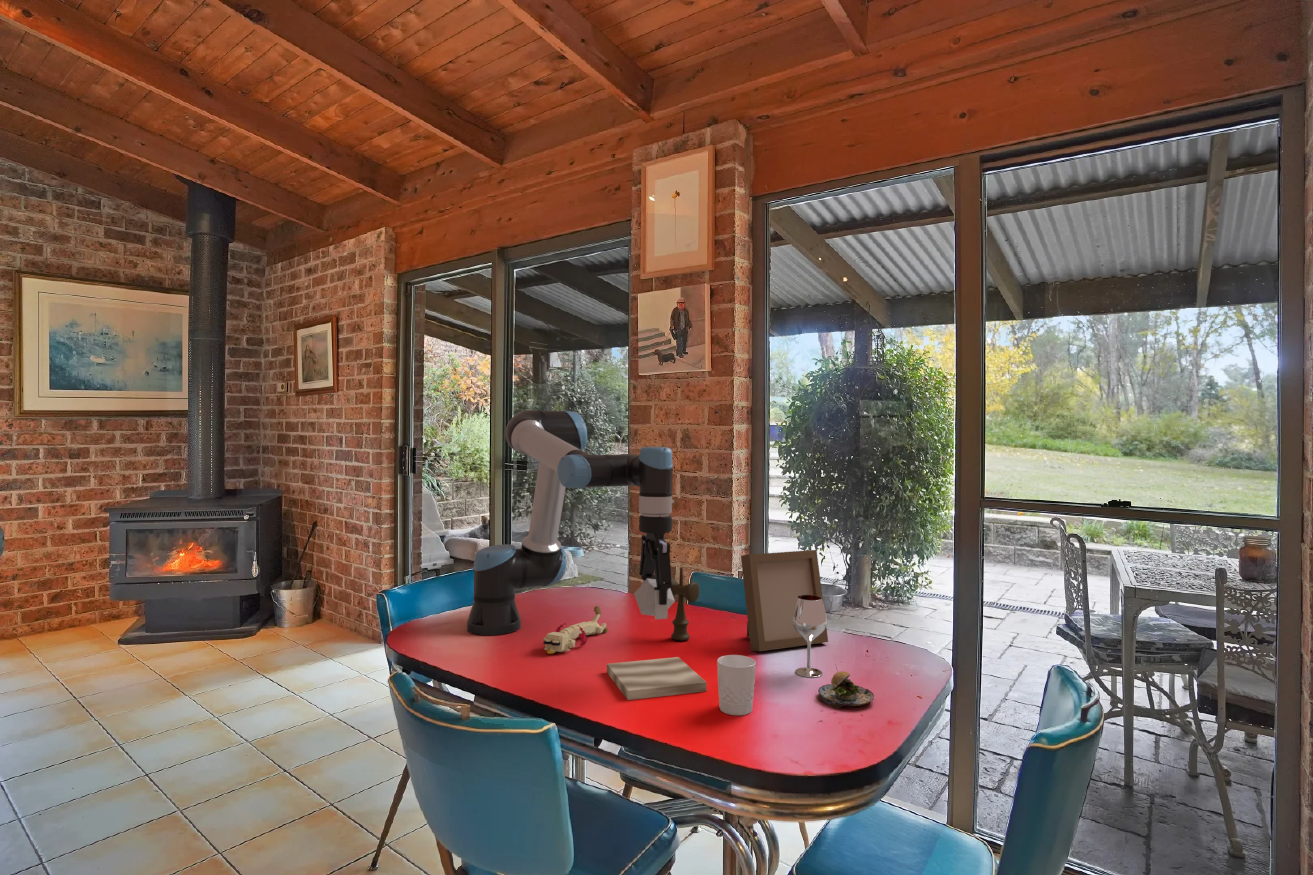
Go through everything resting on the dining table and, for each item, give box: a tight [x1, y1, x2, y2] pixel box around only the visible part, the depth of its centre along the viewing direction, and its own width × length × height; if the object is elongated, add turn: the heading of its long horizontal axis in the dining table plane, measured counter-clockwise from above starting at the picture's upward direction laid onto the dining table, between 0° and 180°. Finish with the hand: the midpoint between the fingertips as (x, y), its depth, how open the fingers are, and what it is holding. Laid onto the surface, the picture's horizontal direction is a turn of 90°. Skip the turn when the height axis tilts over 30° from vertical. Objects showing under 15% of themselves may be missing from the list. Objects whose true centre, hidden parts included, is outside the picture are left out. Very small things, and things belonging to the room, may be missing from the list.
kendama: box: [670, 566, 701, 642], centre depth 191 cm, size 6×10×20 cm, turn 51°
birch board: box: [606, 656, 707, 701], centre depth 158 cm, size 18×18×2 cm
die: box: [633, 578, 676, 617], centre depth 158 cm, size 8×9×10 cm
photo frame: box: [740, 549, 829, 652], centre depth 190 cm, size 15×22×25 cm
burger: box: [817, 663, 875, 710], centre depth 149 cm, size 12×12×8 cm
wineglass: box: [792, 595, 828, 678], centre depth 165 cm, size 8×8×18 cm
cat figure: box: [542, 605, 609, 655], centre depth 187 cm, size 10×9×25 cm
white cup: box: [716, 654, 757, 716], centre depth 143 cm, size 8×8×10 cm
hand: (654, 613), depth 158 cm, fingers closed on die, 9 cm apart
